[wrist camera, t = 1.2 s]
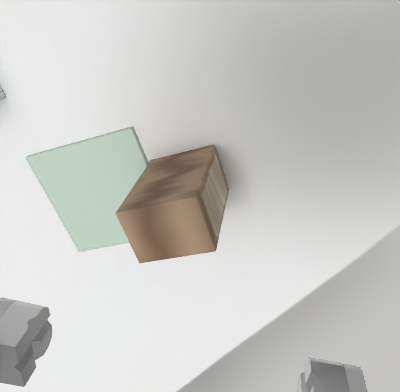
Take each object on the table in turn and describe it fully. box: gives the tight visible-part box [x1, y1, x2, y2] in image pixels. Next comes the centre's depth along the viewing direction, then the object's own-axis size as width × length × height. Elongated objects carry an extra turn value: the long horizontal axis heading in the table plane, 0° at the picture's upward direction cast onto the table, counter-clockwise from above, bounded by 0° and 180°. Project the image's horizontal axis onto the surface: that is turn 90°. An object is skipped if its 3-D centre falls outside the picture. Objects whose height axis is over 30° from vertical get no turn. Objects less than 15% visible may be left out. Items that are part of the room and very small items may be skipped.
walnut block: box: [115, 145, 229, 263], centre depth 40 cm, size 8×6×12 cm
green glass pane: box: [26, 127, 148, 252], centre depth 49 cm, size 15×15×1 cm
